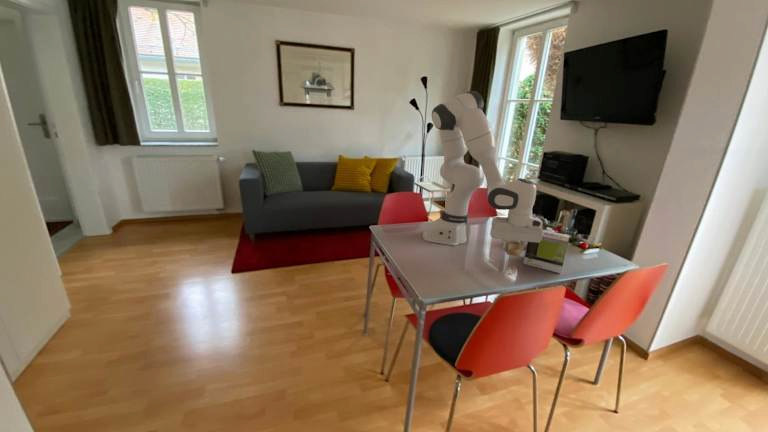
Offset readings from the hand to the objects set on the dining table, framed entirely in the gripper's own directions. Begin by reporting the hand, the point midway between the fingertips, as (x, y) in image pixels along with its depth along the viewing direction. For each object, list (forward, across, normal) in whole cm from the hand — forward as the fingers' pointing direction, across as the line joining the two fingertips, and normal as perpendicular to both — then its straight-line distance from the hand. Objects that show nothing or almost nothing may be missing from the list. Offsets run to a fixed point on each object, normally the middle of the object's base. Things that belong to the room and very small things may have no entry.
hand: (512, 249), depth 135 cm
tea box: (+8, +16, +5) cm, 18 cm away
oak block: (+2, 0, 0) cm, 2 cm away
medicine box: (+8, +25, +25) cm, 36 cm away
